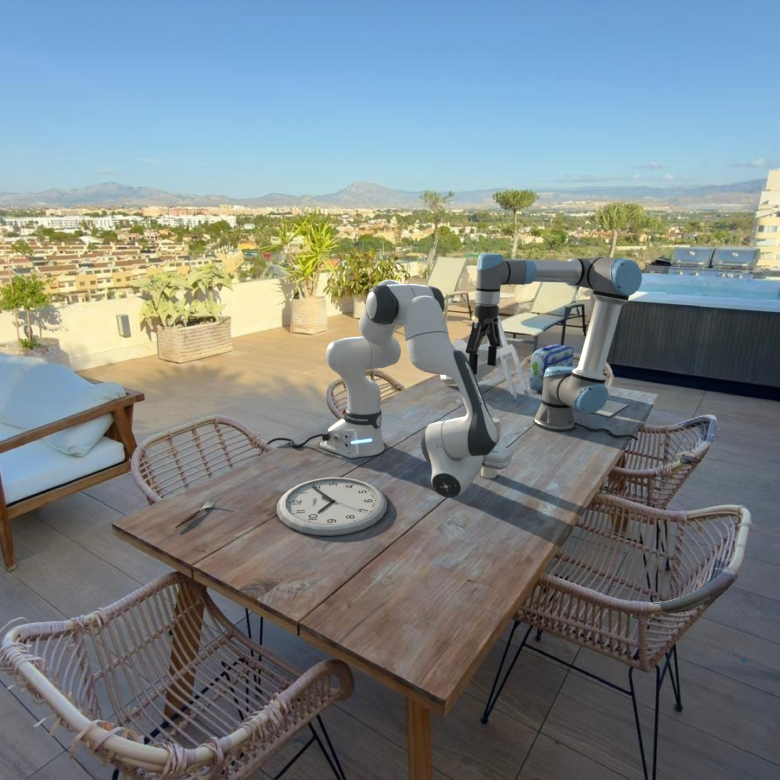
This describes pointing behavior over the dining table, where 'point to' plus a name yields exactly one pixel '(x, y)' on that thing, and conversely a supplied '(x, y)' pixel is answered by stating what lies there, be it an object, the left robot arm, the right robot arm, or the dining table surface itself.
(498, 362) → the white plastic object
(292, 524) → the wall clock
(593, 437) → the dining table surface
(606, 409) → the invitation card
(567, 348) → the lunch box
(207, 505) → the fork
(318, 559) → the dining table surface
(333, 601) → the dining table surface
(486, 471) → the jar
